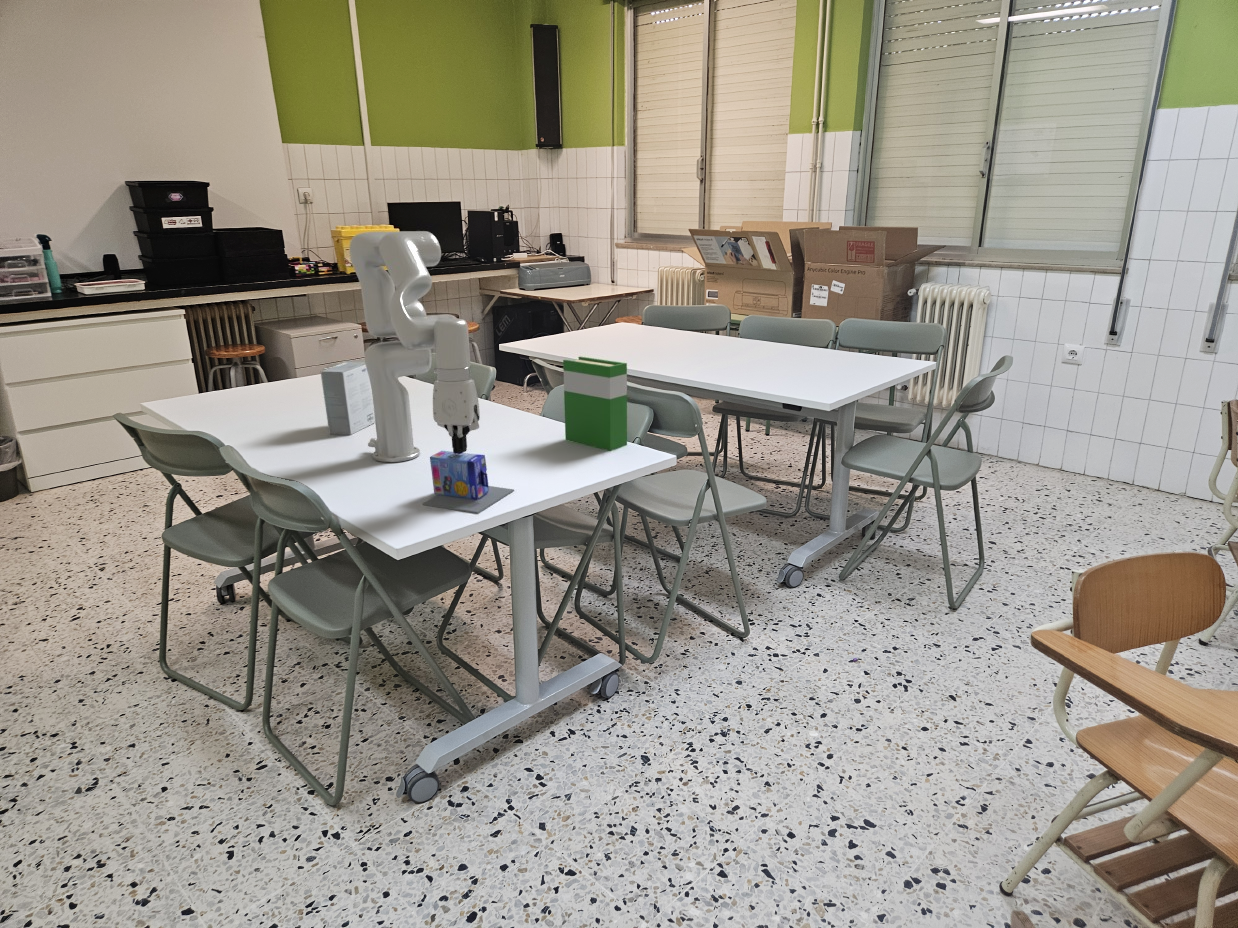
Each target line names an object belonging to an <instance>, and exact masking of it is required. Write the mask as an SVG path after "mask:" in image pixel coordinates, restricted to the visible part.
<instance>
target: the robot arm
mask: <svg viewBox="0 0 1238 928" xmlns="http://www.w3.org/2000/svg"><path fill="white" fill-rule="evenodd" d="M349 257H350V262H351V265H352V266H353V270H354V271H355V274H356V276H357V278H358V282H359V285H360V289H361V291H360V292H361V298H362V304H363V305H362V306H363V313H364V321H365V325H366V330H367V331H368V333H369V334H370V335H371V336H373V337H376V338H389V337H397V338H398V340H395V341H383V342H378V343H374V344H371V345H370V346H369V347H367V348H366V350H365V352H364V357H363V359H364V362H365V364H366V368H367V371H368V375H369V379H370V385H371V392H372V400H373V408H374V415H375V423H374V424H375V432H376V437H375V438H374V437H372V438H370V439H369V441H368V442H367V447H370V448H374V449H375V451H374V452H373V453H372V458H373V459H374V460H375V461H378V462H383V463H398V462H399V463H400V462H406V461H410V460H412V459H413V460H414V459H416V458H418V457H419V456H420V454H421V451H420V449H419V448H418V447H416V446H414V437H413V435H414V434H413V424H412V415H411V413H412V412H411V404H410V394H409V391H408V390H407V388H406V387H405V385H403V384H402V383H401V381H400V380H399V378H402V377H407V376H408V377H409V376H415V375H422V374H425V373H428V371H430V369H431V366H432V359H433V358H432V349H434V350H435V362H436V363H435V364H436V365H435V366H436V367H434V368H433V374H435V375H436V377H437V379H435V380H434V382H433V389H432V415H433V416H432V417H433V420H434V422H435V423H436V424H437V426H438V427H440V428H443V429H445V430H446V431H447V432H448V435H449V437H450V438H451V445H452V447H451V448H452V452H453V453H455V454H456V453H457V454H461V453H466V452H467V450H468V449H467V448H468V444H467V443H468V441H467V436H468V435H469V434H470V432H471V431H476V430H478V429H480V424H479V421H480V415H481V414H480V403H479V396H478V392H477V391H478V390H477V388H476V384H475V380H474V379H472V369H471V368H472V367H471V365H472V364H471V354H470V353H471V352H470V351H471V350H470V337H469V326H468V323H467V321H466V320H465V319H462V318H457V317H456V316H455V315H452V314H447V313H446V314H445V313H444V314H430V315H427V312H426V309H425V307H424V305H423V304H422V303H421V302H420V301H419V300H420V299H421V298H422V297H424V296H425V295H427V294H428V292H430V290H431V288H432V284H433V279H432V277H431V275H430V273H429V270H428V269H427V267H435V266H437V265H438V264H439V262H440V261H441V257H442V250H441V245H440V243H439V240H438V239H437V237H436V236H435V235H434V234H433V233H431V232H430V231H425V230H422V231H421V230H416V231H411V230H410V231H405V230H403V231H402V230H401V231H365V232H361V233H358V234H355V235H354V236H353V237H352V238H351V240H350V243H349ZM384 267H385V268H386V269H387V270H386V269H385V268H384Z"/></svg>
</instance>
